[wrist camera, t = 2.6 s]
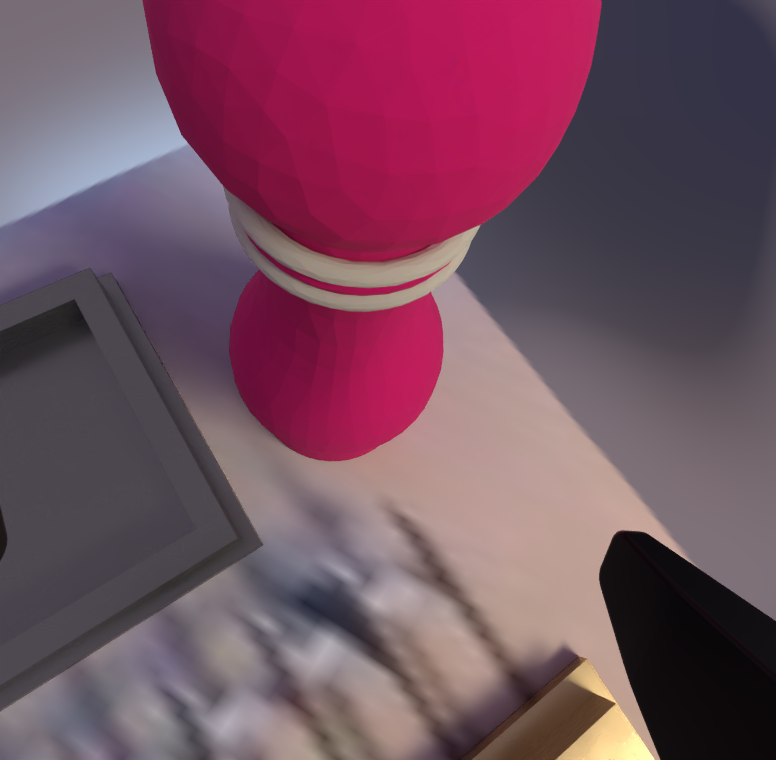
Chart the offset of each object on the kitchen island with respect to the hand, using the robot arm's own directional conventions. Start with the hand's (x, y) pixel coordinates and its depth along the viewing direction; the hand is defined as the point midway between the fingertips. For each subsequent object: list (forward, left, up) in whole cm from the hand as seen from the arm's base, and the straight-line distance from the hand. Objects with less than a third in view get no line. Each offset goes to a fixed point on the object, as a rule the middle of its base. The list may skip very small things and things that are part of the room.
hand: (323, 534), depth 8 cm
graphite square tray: (-8, +8, -13) cm, 17 cm away
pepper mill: (+4, +5, -13) cm, 15 cm away
